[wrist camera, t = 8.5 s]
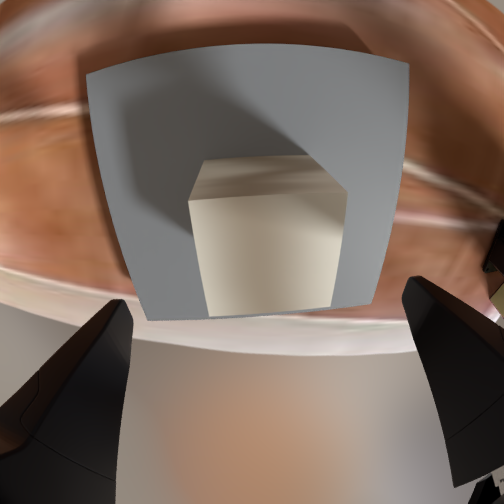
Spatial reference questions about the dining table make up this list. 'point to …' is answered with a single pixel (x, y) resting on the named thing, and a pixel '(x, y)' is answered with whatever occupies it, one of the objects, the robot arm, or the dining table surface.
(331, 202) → the cube
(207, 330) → the dining table surface
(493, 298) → the box
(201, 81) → the base board
